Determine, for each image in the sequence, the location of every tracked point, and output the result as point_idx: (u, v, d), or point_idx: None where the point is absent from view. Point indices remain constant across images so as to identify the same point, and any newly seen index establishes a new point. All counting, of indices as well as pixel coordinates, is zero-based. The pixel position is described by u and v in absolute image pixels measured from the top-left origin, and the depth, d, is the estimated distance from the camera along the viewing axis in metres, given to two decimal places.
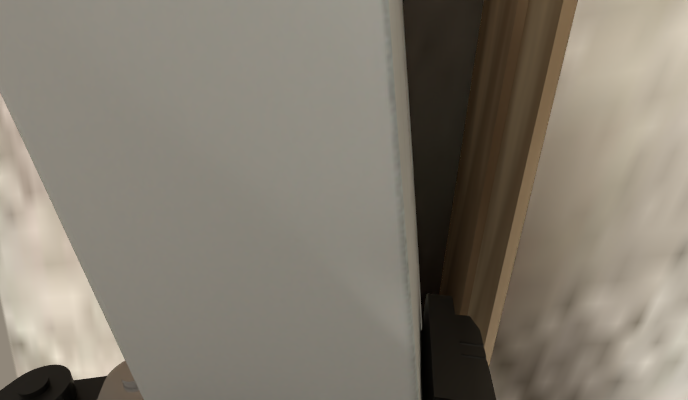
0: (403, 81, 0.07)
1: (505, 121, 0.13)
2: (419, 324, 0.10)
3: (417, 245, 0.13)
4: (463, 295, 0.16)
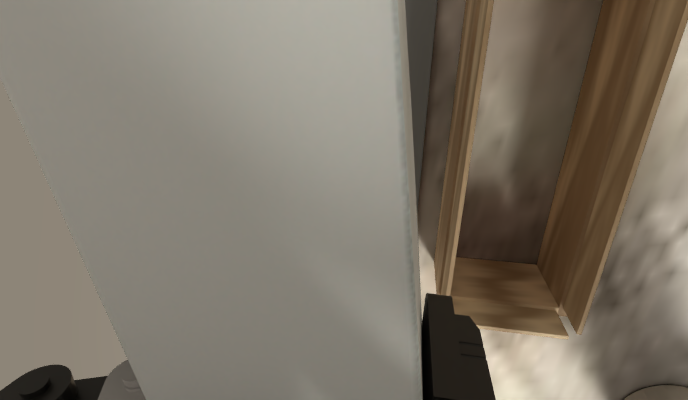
0: None
1: (630, 84, 0.24)
2: None
3: (418, 245, 0.13)
4: (593, 190, 0.27)
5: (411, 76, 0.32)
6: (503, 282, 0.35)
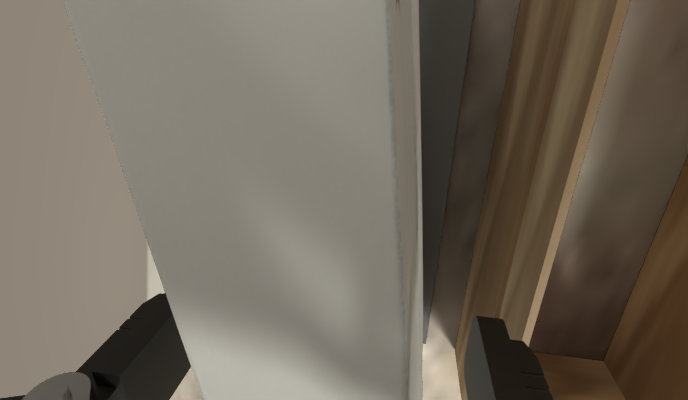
0: (408, 85, 0.08)
1: None
2: (416, 300, 0.11)
3: (420, 233, 0.15)
4: None
5: (432, 92, 0.20)
6: (563, 399, 0.23)
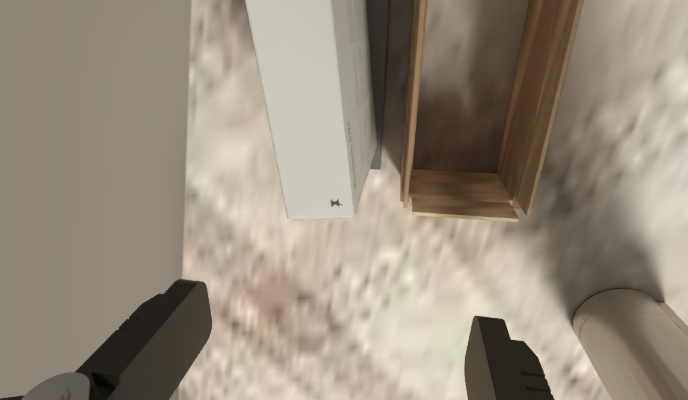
0: None
1: None
2: (348, 39, 0.24)
3: (357, 35, 0.28)
4: (540, 75, 0.29)
5: None
6: (463, 185, 0.36)
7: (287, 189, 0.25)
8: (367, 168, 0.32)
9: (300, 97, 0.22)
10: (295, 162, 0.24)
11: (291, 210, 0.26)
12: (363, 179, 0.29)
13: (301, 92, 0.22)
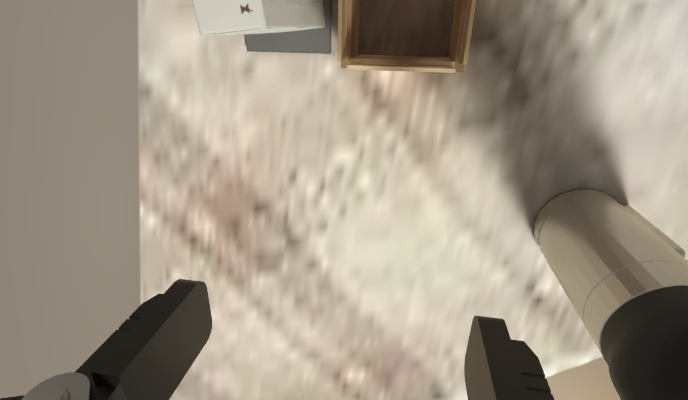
0: None
1: None
2: None
3: None
4: None
5: None
6: (409, 58, 0.35)
7: None
8: (300, 18, 0.31)
9: None
10: None
11: (202, 23, 0.25)
12: (290, 17, 0.28)
13: None
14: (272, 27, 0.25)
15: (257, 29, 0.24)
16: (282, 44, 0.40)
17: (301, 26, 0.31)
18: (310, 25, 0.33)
